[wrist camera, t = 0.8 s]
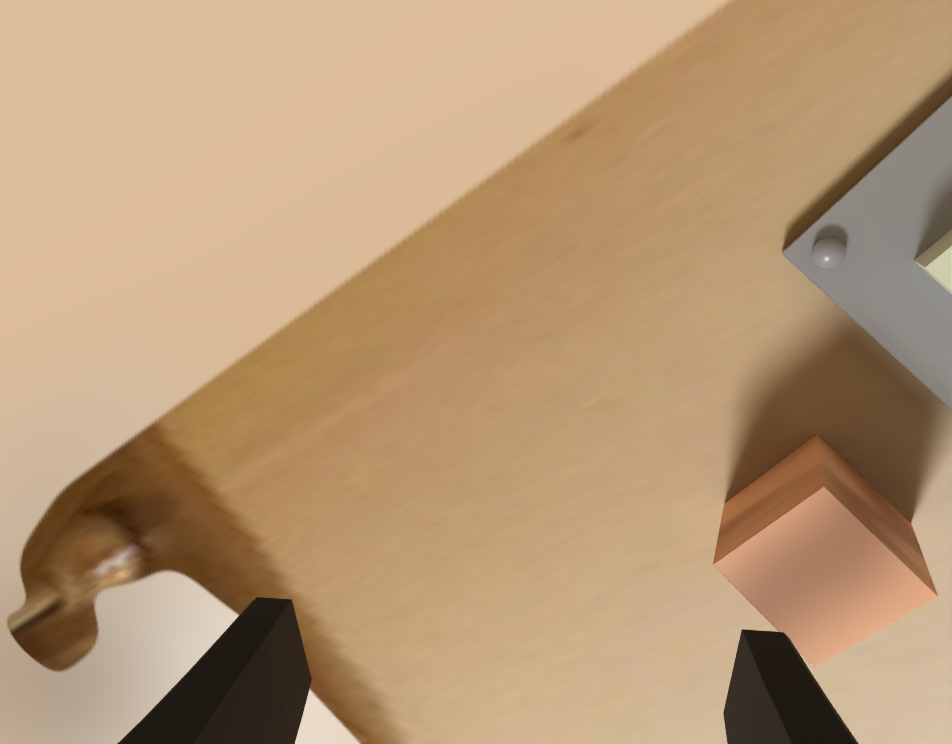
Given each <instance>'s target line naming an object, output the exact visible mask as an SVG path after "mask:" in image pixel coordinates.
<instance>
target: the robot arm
mask: <svg viewBox="0 0 952 744" xmlns="http://www.w3.org/2000/svg"><path fill="white" fill-rule="evenodd" d="M311 680H312V679H311V675H310V671H309V667H308V663H307V659H306V655H305V651H304V647H303V643H302V639H301V635H300V631H299V627H298V623H297V619H296V615H295V611H294V607H293V603H292V600H290V599H275V598H260V597H257V598H256V599H255V600H253V601H252V602H251V603H250V604H249V606H248V607H247V608H246V609H245V610H244V611H243V612H242V613H241V614H240V615H239V616H238V618H237V619H236V620H235V621H234V622H233V623H232V624H231V625H230V627H229V628H228V629H227V630H226V631H225V632H224V633H223V634H222V635H221V636H220V638H219V639H218V640H217V641H216V642H215V643H214V644H213V645H212V646H211V648H210V649H209V650H208V651H207V652H206V653H205V654H204V655H203V656H202V657H201V658H200V659H199V661H198V662H197V663H196V664H195V665H194V666H193V667H192V668H191V669H190V670H189V672H188V673H187V674H186V675H185V676H184V677H183V678H182V679H181V680H180V681H179V682H178V683H177V684H176V685H175V686H174V687H173V688H172V689H171V690H170V691H169V692H168V693H167V695H166V696H165V697H164V698H163V699H162V700H161V701H160V702H159V703H158V704H157V705H156V706H155V707H154V708H153V709H152V710H151V711H150V712H149V713H148V714H147V715H146V717H144V718H143V720H142V721H140V722H139V723H138V724H137V725H136V726H135V727H134V728H133V729H132V730H131V731H130V732H129V733H128V734H127V735H126V736H125V737H124V738H123V739H122V740H121V741H120V742H119V743H118V744H295V740H296V736H297V733H298V729H299V726H300V722H301V719H302V715H303V711H304V707H305V704H306V700H307V696H308V692H309V688H310V684H311ZM724 720H725V728H726V735H727V742H728V744H858V742H857V741H856V739H855V738H854V736H853V735H852V734H851V732H850V731H849V729H848V728H847V726H846V725H845V723H844V722H843V720H842V719H841V717H840V716H839V714H838V713H837V711H836V710H835V708H834V707H833V706H832V704H831V703H830V701H829V700H828V698H827V697H826V695H825V693H824V692H823V690H822V689H821V687H820V686H819V684H818V683H817V681H816V680H815V678H814V676H813V675H812V673H811V672H810V670H809V669H808V667H807V665H806V664H805V662H804V661H803V659H802V657H801V656H800V654H799V653H798V651H797V649H796V648H795V646H794V645H793V643H792V641H791V640H790V638H789V637H788V636H787V635H786V634H785V633H784V632H771V631H756V630H742V631H741V636H740V640H739V645H738V649H737V654H736V658H735V663H734V668H733V672H732V677H731V681H730V686H729V690H728V695H727V699H726V704H725V708H724Z"/></svg>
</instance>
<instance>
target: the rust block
mask: <svg viewBox="0 0 952 744" xmlns="http://www.w3.org/2000/svg"><path fill="white" fill-rule="evenodd" d="M713 566H714V567H715V568H716V569H717V570H718V571H719V572H720V573H721V574H722V575H723V576H724V577H725V578H726V579H727V580H728V581H729V582H730V583H731V584H732V585H733V586H734V587H735V588H736V589H737V590H738V591H739V592H740V593H741V594H742V595H743V596H744V597H745V598H746V599H747V600H748V601H749V602H750V603H751V604H752V605H753V606H754V607H755V608H756V609H757V610H758V611H759V612H760V613H761V614H762V615H763V616H764V617H765V618H766V619H767V620H768V621H769V622H770V623H771V624H772V625H773V626H774V627H775V628H776V629H777V630H778V631H779V632H784V633H785V634H786V635H787V636H788V637H789V638H790V640H791V641H792V643H793V645H794V646H795V648H796V649H797V650H798V651H799V652H800V653H801V654H802V655H803V656H804V657H805V658H806V659H807V660H808V661H809V662H810V663H811V664H812V665H813V666H816V665H818V664H820V663H821V662H823V661H825V660H827V659H829V658H830V657H832V656H834V655H836V654H837V653H839V652H841V651H843V650H845V649H846V648H848V647H850V646H852V645H853V644H855V643H857V642H859V641H860V640H862V639H864V638H866V637H868V636H869V635H871V634H873V633H875V632H876V631H878V630H880V629H882V628H884V627H885V626H887V625H889V624H891V623H892V622H894V621H896V620H898V619H900V618H901V617H903V616H905V615H907V614H908V613H910V612H912V611H914V610H915V609H917V608H919V607H921V606H923V605H924V604H926V603H928V602H930V601H931V600H933V599H935V598H937V597H938V595H937V592H936V590H935V587H934V584H933V581H932V579H931V576H930V573H929V571H928V568H927V565H926V563H925V560H924V557H923V554H922V552H921V549H920V546H919V544H918V541H917V538H916V536H915V533H914V530H913V527H912V525H911V523H910V522H909V521H908V520H907V519H906V518H905V517H904V516H903V515H902V514H901V513H900V512H899V511H898V510H897V509H895V508H894V507H893V506H892V505H891V504H890V503H889V502H888V501H887V500H886V499H885V498H884V497H883V496H882V495H881V494H880V493H879V492H878V491H877V490H876V489H874V488H873V487H872V486H871V485H870V484H869V483H868V482H867V481H866V480H865V479H864V478H863V477H862V476H861V475H860V474H859V473H858V472H857V471H856V470H855V469H853V468H852V467H851V466H850V465H849V464H848V463H847V462H846V461H845V460H844V459H843V458H842V457H841V456H840V455H839V454H838V453H837V452H836V451H835V450H834V449H832V448H831V447H830V446H829V445H828V444H827V443H826V442H825V441H824V440H823V439H822V438H821V437H820V436H819V435H818V434H816V435H815V436H814V437H812V438H811V439H810V440H808V441H807V442H806V443H804V444H803V445H802V446H800V447H799V448H798V449H796V450H795V451H794V452H792V453H791V454H790V455H788V456H787V457H786V458H784V459H783V460H782V461H780V462H779V463H778V464H776V465H775V466H774V467H772V468H771V469H770V470H768V471H767V472H766V473H764V474H763V475H762V476H760V477H759V478H758V479H756V480H755V481H754V482H752V483H751V484H750V485H748V486H747V487H746V488H744V489H743V490H742V491H740V492H739V493H738V494H736V495H735V496H734V497H732V498H731V499H730V500H728V501H727V502H726V503H724V508H723V513H722V519H721V524H720V529H719V535H718V540H717V545H716V551H715V556H714V561H713Z"/></svg>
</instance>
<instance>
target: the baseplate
mask: <svg viewBox="0 0 952 744" xmlns="http://www.w3.org/2000/svg"><path fill="white" fill-rule="evenodd" d="M951 229H952V95H951V96H950V97H949V98H948V99H946V100H945V101H944V102H943V103H942V104H941V105H940V106H939V107H938V108H937V109H936V110H935V111H934V112H932V113H931V114H930V115H929V116H928V117H927V118H926V119H925V120H924V121H923V122H922V123H921V124H919V125H918V126H917V127H916V128H915V129H914V130H913V131H912V132H911V133H910V134H909V135H908V136H907V137H905V138H904V139H903V140H902V141H901V142H900V143H899V144H898V145H897V146H896V147H895V148H894V149H892V150H891V151H890V152H889V153H888V154H887V155H886V156H885V157H884V158H883V159H882V160H881V161H880V162H878V163H877V164H876V165H875V166H874V167H873V168H872V169H871V170H870V171H869V172H868V173H867V174H865V175H864V176H863V177H862V178H861V179H860V180H859V181H858V182H857V183H856V184H855V185H854V186H853V187H851V188H850V189H849V190H848V191H847V192H846V193H845V194H844V195H843V196H842V197H841V198H840V199H838V200H837V201H836V202H835V203H834V204H833V205H832V206H831V207H830V208H829V209H828V210H827V211H826V212H824V213H823V214H822V215H821V216H820V217H819V218H818V219H817V220H816V221H815V222H814V223H813V224H811V225H810V226H809V227H808V228H807V229H806V230H805V231H804V232H803V233H802V234H801V235H800V236H799V237H797V238H796V239H795V240H794V241H793V242H792V243H791V244H790V245H789V246H788V247H787V248H786V249H784V250H783V251H782V255H784V256H785V257H786V258H787V259H788V260H789V261H790V262H791V263H792V264H793V265H794V266H795V267H797V268H798V269H799V270H800V271H801V272H802V273H803V274H804V275H805V276H806V277H807V278H809V279H810V280H811V281H812V282H813V283H814V284H815V285H816V286H817V287H818V288H819V289H821V290H822V291H823V292H824V293H825V294H826V295H827V296H828V297H829V298H830V299H831V300H832V301H834V302H835V303H836V304H837V305H838V306H839V307H840V308H841V309H842V310H843V311H844V312H846V313H847V314H848V315H849V316H850V317H851V318H852V319H853V320H854V321H855V322H856V323H858V324H859V325H860V326H861V327H862V328H863V329H864V330H865V331H866V332H867V333H868V334H869V335H871V336H872V337H873V338H874V339H875V340H876V341H877V342H878V343H879V344H880V345H881V346H883V347H884V348H885V349H886V350H887V351H888V352H889V353H890V354H891V355H892V356H893V357H895V358H896V359H897V360H898V361H899V362H900V363H901V364H902V365H903V366H904V367H905V368H906V369H908V370H909V371H910V372H911V373H912V374H913V375H914V376H915V377H916V378H917V379H918V380H920V381H921V382H922V383H923V384H924V385H925V386H926V387H927V388H928V389H929V390H930V391H932V392H933V393H934V394H935V395H936V396H937V397H938V398H939V399H940V400H941V401H942V402H943V403H945V404H946V405H947V406H948V407H949V408H950V409H951V410H952V294H951V293H950V292H949V291H947V290H946V289H945V288H944V287H943V286H942V285H941V284H940V283H938V282H937V281H936V280H935V279H934V278H933V277H932V276H931V275H929V274H928V273H927V272H926V271H925V270H924V269H923V268H922V267H921V266H919V265H918V264H917V263H916V262H915V261H914V260H915V259H916V258H918V257H919V256H920V255H921V254H922V253H924V252H925V251H926V250H927V249H929V248H930V247H931V246H932V245H933V244H935V243H936V242H937V241H938V240H939V239H941V238H942V237H943V236H944V235H945V234H947V233H948V232H949V231H950V230H951Z"/></svg>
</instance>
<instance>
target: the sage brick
mask: <svg viewBox="0 0 952 744" xmlns="http://www.w3.org/2000/svg"><path fill="white" fill-rule="evenodd" d="M914 261H915V262H916V263H917V264H918V265H919V266H921V267H922V268H923V269H924V270H925V271H926V272H927V273H928V274H929V275H931V276H932V277H933V278H934V279H935V280H936V281H937V282H938V283H940V284H941V285H942V286H943V287H944V288H945V289H946V290H947V291H949V292H950V293H951V294H952V229H951V230H950V231H949V232H948V233H947V234H945V235H944V236H943V237H942V238H941V239H939V240H938V241H937V242H936V243H935V244H933V245H932V246H931V247H930V248H929V249H927V250H926V251H925V252H924V253H922V254H921V255H920V256H919V257H918V258H916V259H915V260H914Z"/></svg>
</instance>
